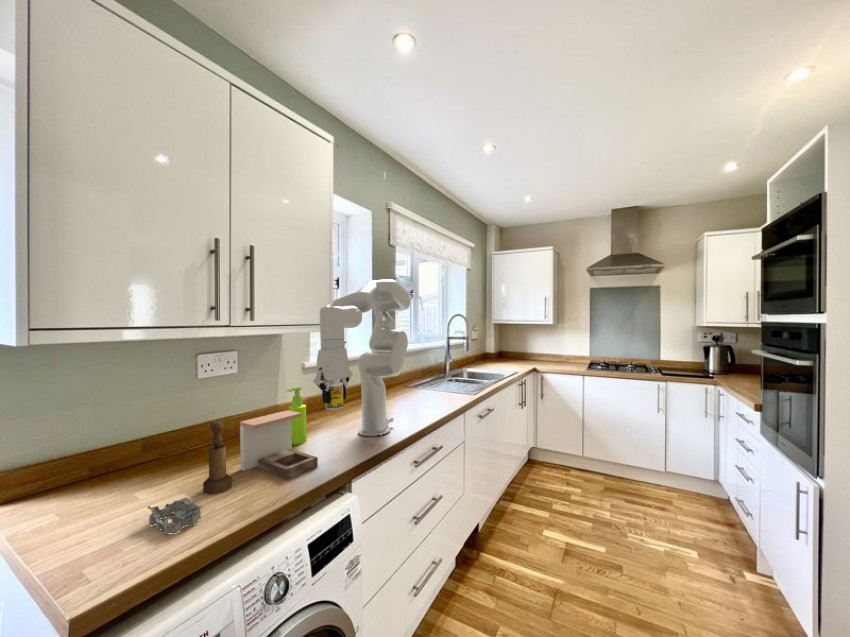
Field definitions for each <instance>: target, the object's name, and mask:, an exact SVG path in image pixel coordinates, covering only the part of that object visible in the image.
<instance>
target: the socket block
mask: <svg viewBox="0 0 850 637" xmlns="http://www.w3.org/2000/svg"><path fill="white" fill-rule="evenodd" d="M318 460H319V458H318V456H315V455H311V454H308V453H306V452H305V453H304V452H301V451H298V450H294V449H287V450H284V451H281V452H278V453H275V454H272V455H269V456H267V457H264V458H261V459H258V466H257V470H258V471H261V472H263V473H266V474H268V475H271V476H274V477H276V478H279V479H281V480H283V479H284V480H283V481H289V480H291V479H294V478H296V477H298V476H300V475H303V474H305V472H306V473H308V472H310V471H312V469H313V470H315V469H317V468H318V467H319V466H318V465H319V464H318V462H319V461H318Z"/></svg>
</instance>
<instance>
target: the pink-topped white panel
mask: <svg viewBox="0 0 850 637" xmlns="http://www.w3.org/2000/svg"><path fill="white" fill-rule="evenodd" d="M299 417H301V413H298V412H293V411H289V409H287V410H284V411H279V412H276V413H275V412H274V413H270V414H267V415H262V416H259V417H254V418H251V419H246V420H241V421H240V422H239V438H240V440H239V441H240V442H239V444H240V445H239V446H240V447H239V448H240V450H239V451H240V470H241V471H244V472H245V471H247V470H250V469H251V470H252V469H253V468H256V467H258V459H261V458H264V457H267V456H269V455H272V454H275V453H278V452H281V451H284V450H287V449H292V448H293V445H292V438H291V419H295V418H299ZM292 450H293V449H292Z"/></svg>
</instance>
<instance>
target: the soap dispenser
mask: <svg viewBox="0 0 850 637" xmlns="http://www.w3.org/2000/svg"><path fill="white" fill-rule="evenodd" d="M302 389H303V387H302V386H301V387H299V386H295V387H291V388H290V387H289V389H287V390H286V392H291V393H292V392H294V395H293V396H292V398H291V399H292V404H291V405H290V406H288V411H293V412H298V413H301V417H299V418H295V419H291V438H292V444H293V445H292V446H294V445H295V446H296V445H297V444H298V445H302V443H303V444H305V443H306V442H307V405H306V404H303V396H302V395H301V394H300V393H301V392H300V390H302ZM298 445H297V446H298Z"/></svg>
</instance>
